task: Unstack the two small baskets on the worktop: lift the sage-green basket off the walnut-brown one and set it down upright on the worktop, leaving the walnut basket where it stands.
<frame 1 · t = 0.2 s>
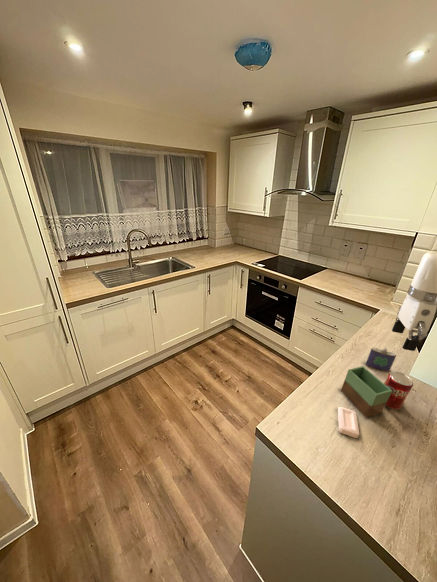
hand: (402, 340, 77), 27 cm above the worktop, tool pointing down, fingers open, 9 cm apart
soap bar: (346, 424, 79), on the worktop
walnut basket: (360, 401, 88), on the worktop, touching green basket
soda can: (389, 402, 88), on the worktop
green basket: (364, 390, 85), point 5 cm above the worktop, touching walnut basket
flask: (377, 368, 104), on the worktop
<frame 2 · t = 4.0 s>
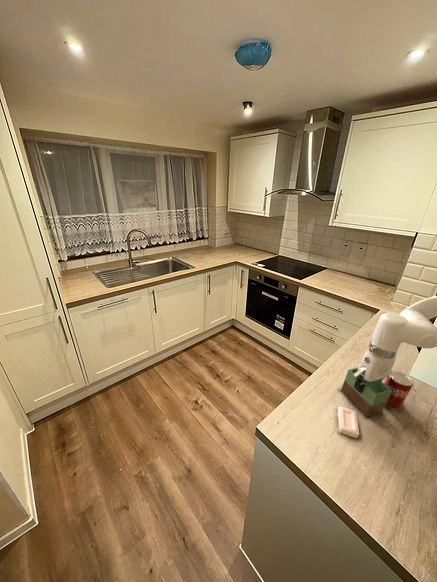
hand: (366, 387, 85), 7 cm above the worktop, tool pointing down, fingers closed on green basket, 7 cm apart
green basket: (364, 390, 85), point 5 cm above the worktop, touching gripper, walnut basket
everything else where it was.
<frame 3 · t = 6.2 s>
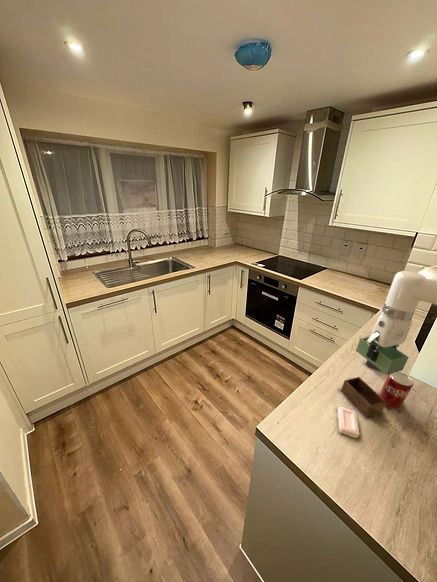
hand: (379, 356, 79), 21 cm above the worktop, tool pointing down, fingers closed on green basket, 7 cm apart
walnut basket: (360, 401, 88), on the worktop
green basket: (377, 360, 80), point 19 cm above the worktop, touching gripper
everything else where it was.
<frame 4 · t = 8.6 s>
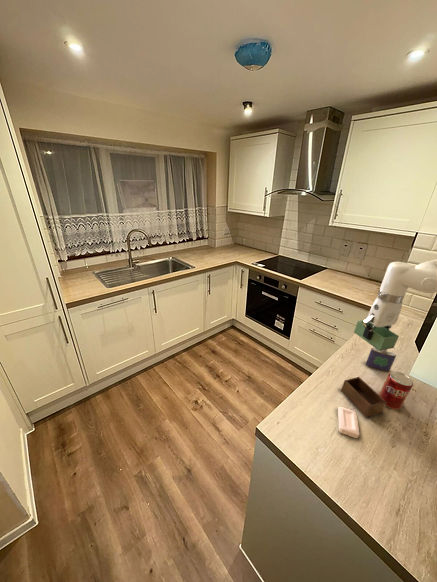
hand: (374, 336, 91), 20 cm above the worktop, tool pointing down, fingers closed on green basket, 7 cm apart
green basket: (372, 339, 92), point 18 cm above the worktop, touching gripper
everything else where it was.
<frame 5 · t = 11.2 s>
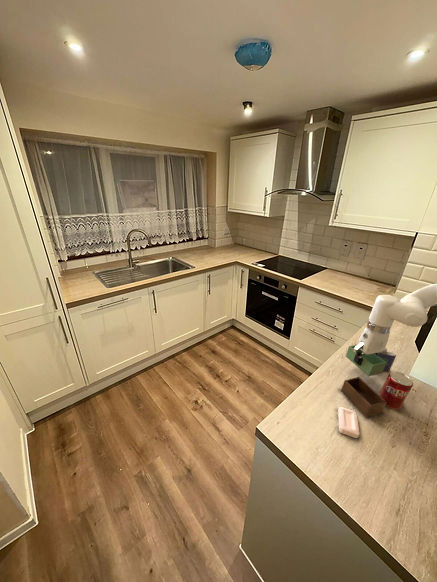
hand: (364, 361, 97), 7 cm above the worktop, tool pointing down, fingers closed on green basket, 7 cm apart
green basket: (362, 364, 98), point 5 cm above the worktop, touching gripper
everything else where it was.
when the fingers open (2 cm above the worktop, at t = 13.1 s): green basket stays where it is, on the worktop.
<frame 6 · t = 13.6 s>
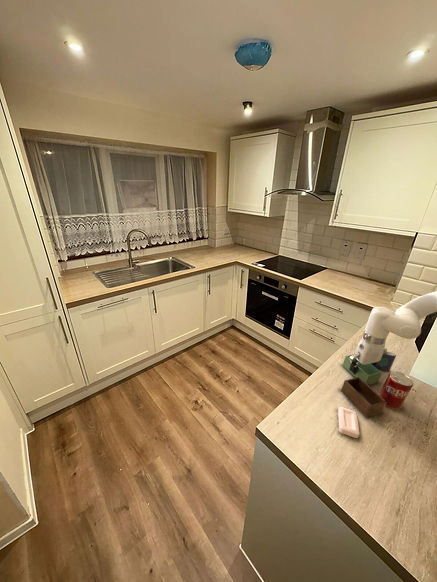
hand: (361, 369, 99), 2 cm above the worktop, tool pointing down, fingers open, 9 cm apart
green basket: (359, 373, 100), on the worktop
everything else where it was.
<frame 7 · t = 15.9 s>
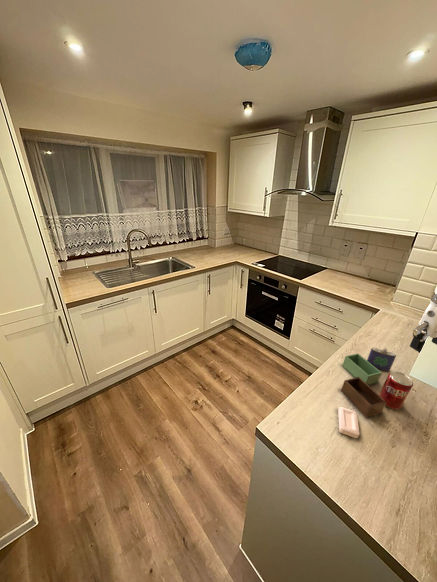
hand: (425, 346, 77), 26 cm above the worktop, tool pointing down, fingers open, 9 cm apart
nothing on the worktop moved.
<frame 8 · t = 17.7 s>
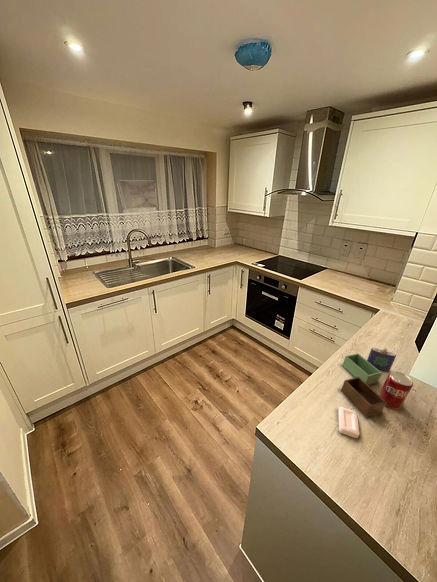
nothing on the worktop moved.
at the end: green basket inside the target area (0.2 cm from its centre), on the worktop; green basket tilted 0°; walnut basket moved 0.0 cm from its start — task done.
